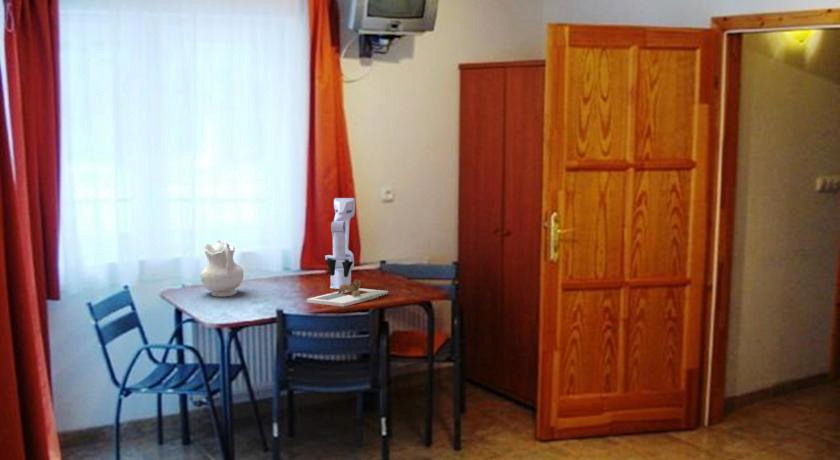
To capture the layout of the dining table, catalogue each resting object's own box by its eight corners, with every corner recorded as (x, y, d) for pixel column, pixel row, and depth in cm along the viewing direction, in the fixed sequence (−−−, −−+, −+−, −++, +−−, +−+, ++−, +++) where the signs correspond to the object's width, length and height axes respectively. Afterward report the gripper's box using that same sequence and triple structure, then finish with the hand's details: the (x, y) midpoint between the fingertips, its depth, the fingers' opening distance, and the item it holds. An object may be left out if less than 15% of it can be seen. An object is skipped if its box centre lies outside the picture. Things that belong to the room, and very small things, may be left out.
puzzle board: (306, 302, 353) (306, 298, 353) (354, 290, 384) (354, 287, 384) (343, 306, 343) (343, 303, 343) (389, 294, 374) (389, 291, 374)
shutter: (352, 297, 356) (352, 291, 356) (377, 291, 374) (377, 285, 373) (363, 298, 353) (363, 293, 353) (388, 292, 370) (388, 286, 370)
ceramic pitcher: (255, 295, 370) (254, 242, 368) (218, 301, 356) (217, 245, 354) (228, 290, 385) (227, 238, 383) (192, 295, 371) (191, 242, 369)
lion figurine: (358, 294, 375) (358, 278, 374) (362, 295, 371) (362, 280, 370) (334, 296, 369) (334, 280, 368) (338, 297, 365) (338, 281, 365)
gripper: (321, 246, 367) (321, 275, 368) (346, 248, 360) (346, 278, 361) (330, 245, 373) (330, 274, 374) (355, 246, 366) (356, 276, 367)
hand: (339, 276), depth 368 cm, fingers open, 7 cm apart
